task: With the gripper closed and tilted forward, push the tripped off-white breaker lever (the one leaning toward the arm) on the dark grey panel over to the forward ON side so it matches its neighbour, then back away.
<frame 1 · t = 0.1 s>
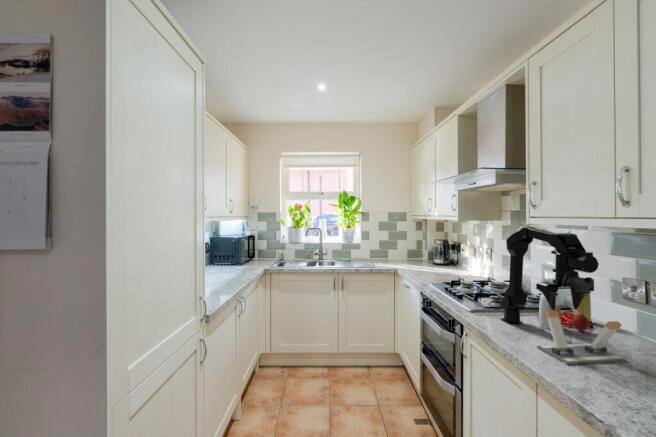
hand: (564, 309, 117), 15 cm above the countertop, tool pointing down, fingers open, 9 cm apart
vase: (582, 321, 146), on the countertop
tripped lever: (557, 331, 114), point 8 cm above the countertop, hinge at -24.0°
onion: (580, 331, 134), on the countertop
on lever: (604, 336, 110), point 7 cm above the countertop, hinge at 30.0°
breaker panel: (579, 354, 113), on the countertop
milk bottle: (549, 327, 139), on the countertop
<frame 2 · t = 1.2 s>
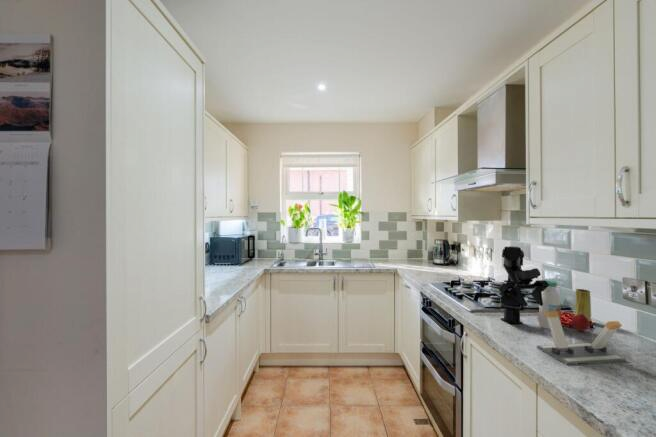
hand: (534, 305, 125), 13 cm above the countertop, tool tilted 45°, fingers open, 6 cm apart
nothing on the countertop moved.
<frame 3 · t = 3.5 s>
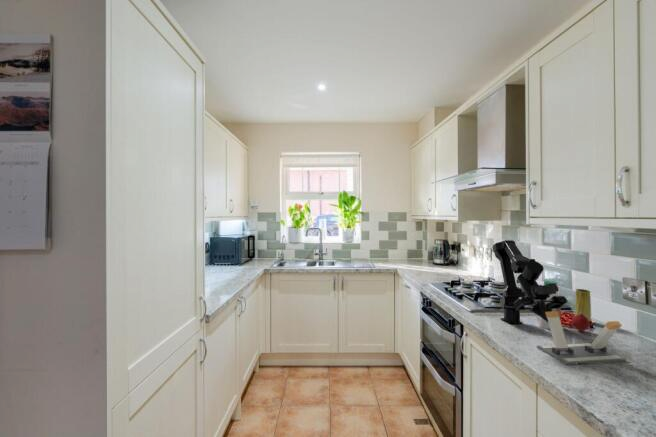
hand: (552, 323, 116), 10 cm above the countertop, tool tilted 45°, fingers closed, pressing on tripped lever
tripped lever: (557, 331, 114), point 8 cm above the countertop, hinge at -23.4°, touching gripper
everything else where it was.
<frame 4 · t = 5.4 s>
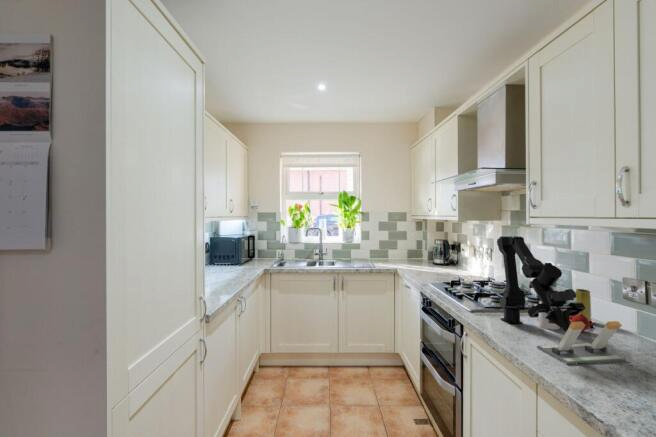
hand: (570, 332, 109), 9 cm above the countertop, tool tilted 45°, fingers closed, pressing on tripped lever
tripped lever: (570, 337, 109), point 8 cm above the countertop, hinge at 27.3°, touching gripper
everything else where it was.
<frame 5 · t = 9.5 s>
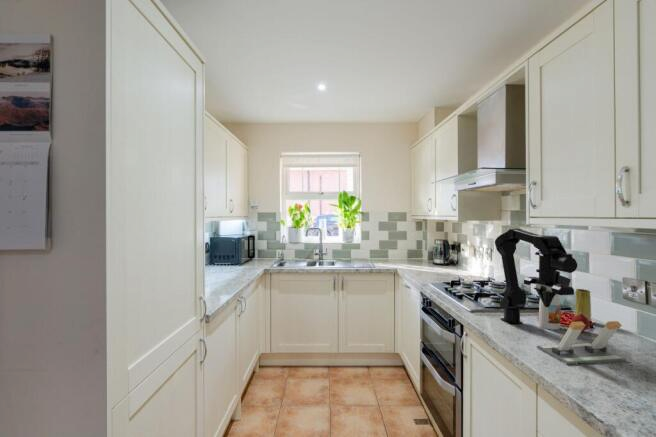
hand: (546, 307, 125), 13 cm above the countertop, tool pointing down, fingers closed
tripped lever: (570, 337, 109), point 8 cm above the countertop, hinge at 27.4°
everything else where it was.
at the end: tripped lever at +27° (first picture: -24°); on lever at +30° (first picture: +30°) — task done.
